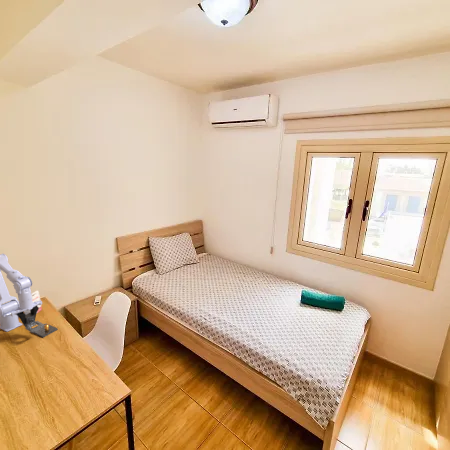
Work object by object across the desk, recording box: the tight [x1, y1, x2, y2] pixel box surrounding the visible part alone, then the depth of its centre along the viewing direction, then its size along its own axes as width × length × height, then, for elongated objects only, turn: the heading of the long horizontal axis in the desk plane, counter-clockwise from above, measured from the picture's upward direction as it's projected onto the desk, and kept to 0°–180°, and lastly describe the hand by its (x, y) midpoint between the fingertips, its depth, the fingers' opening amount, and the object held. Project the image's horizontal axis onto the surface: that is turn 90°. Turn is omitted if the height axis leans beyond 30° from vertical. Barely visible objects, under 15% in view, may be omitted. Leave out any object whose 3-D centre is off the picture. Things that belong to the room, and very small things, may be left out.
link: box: [22, 313, 45, 333], centre depth 137 cm, size 10×6×6 cm, turn 64°
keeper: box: [31, 323, 59, 338], centre depth 143 cm, size 11×8×4 cm
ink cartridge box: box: [24, 290, 43, 314], centre depth 160 cm, size 9×5×15 cm, turn 179°
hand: (29, 321), depth 138 cm, fingers closed on link, 4 cm apart
